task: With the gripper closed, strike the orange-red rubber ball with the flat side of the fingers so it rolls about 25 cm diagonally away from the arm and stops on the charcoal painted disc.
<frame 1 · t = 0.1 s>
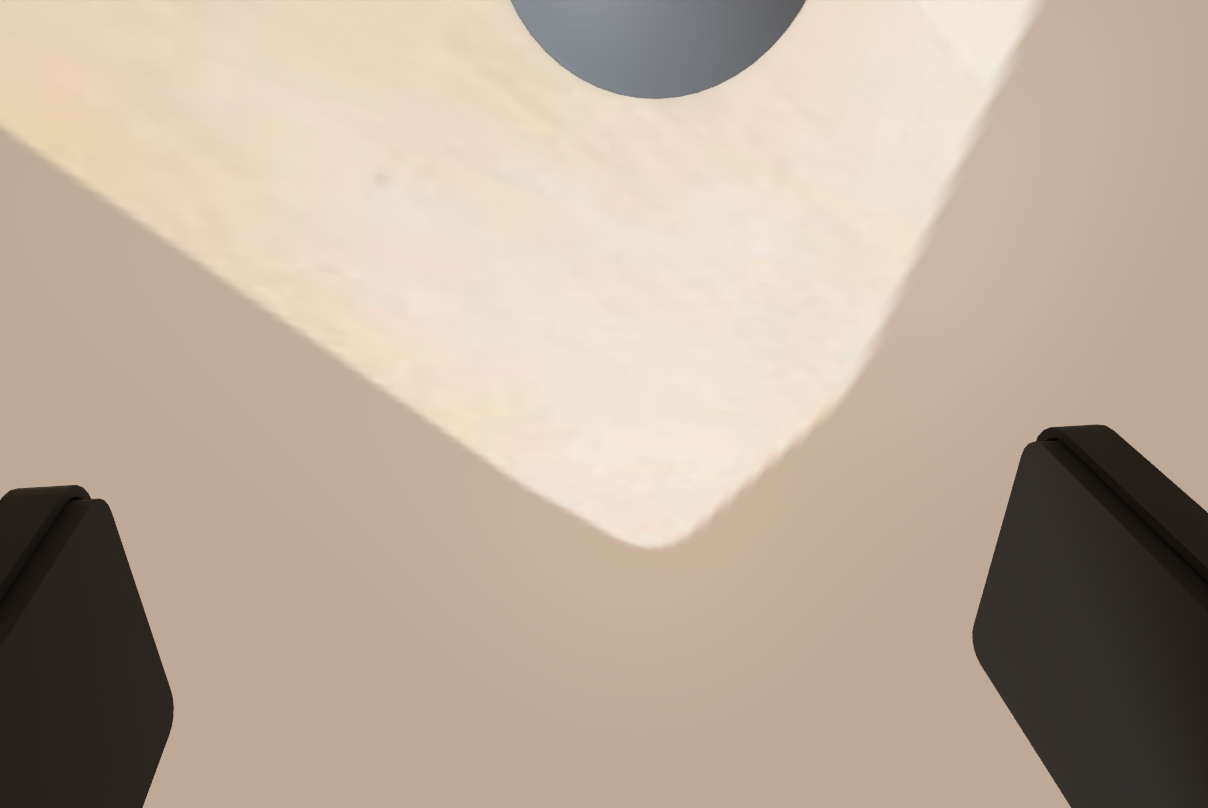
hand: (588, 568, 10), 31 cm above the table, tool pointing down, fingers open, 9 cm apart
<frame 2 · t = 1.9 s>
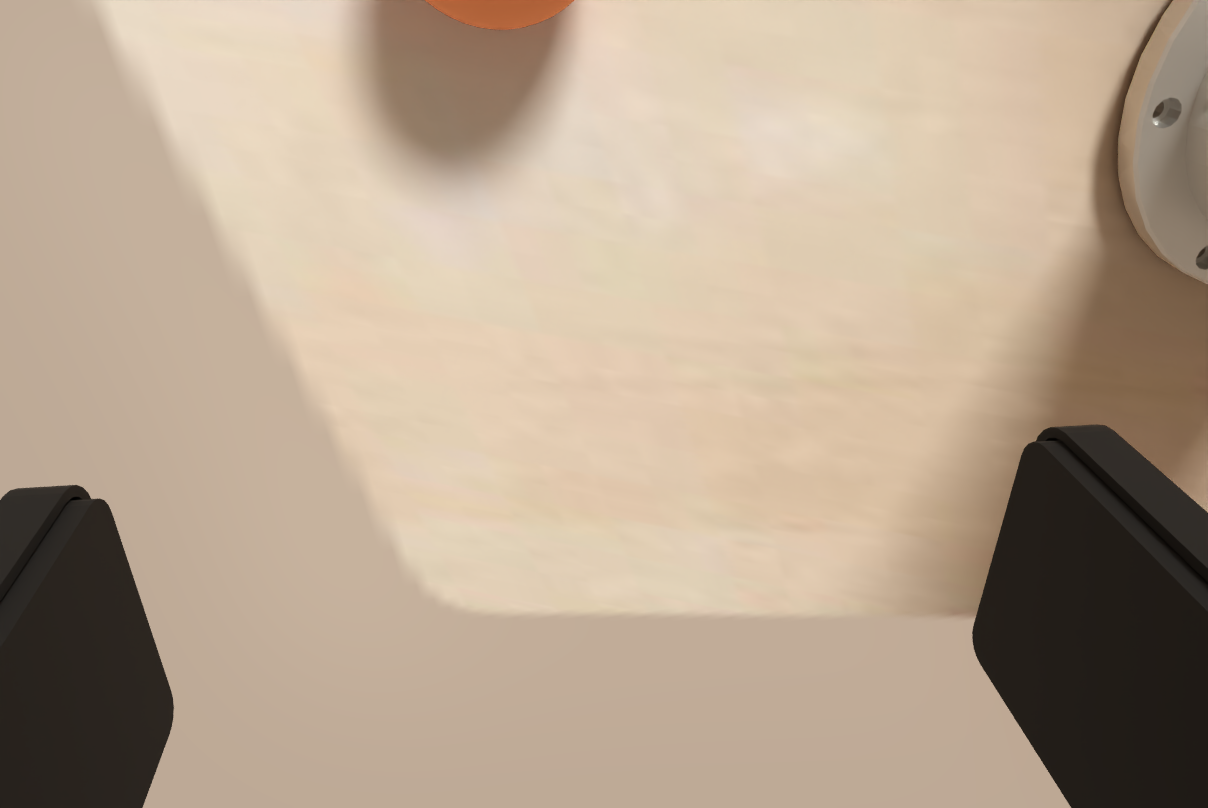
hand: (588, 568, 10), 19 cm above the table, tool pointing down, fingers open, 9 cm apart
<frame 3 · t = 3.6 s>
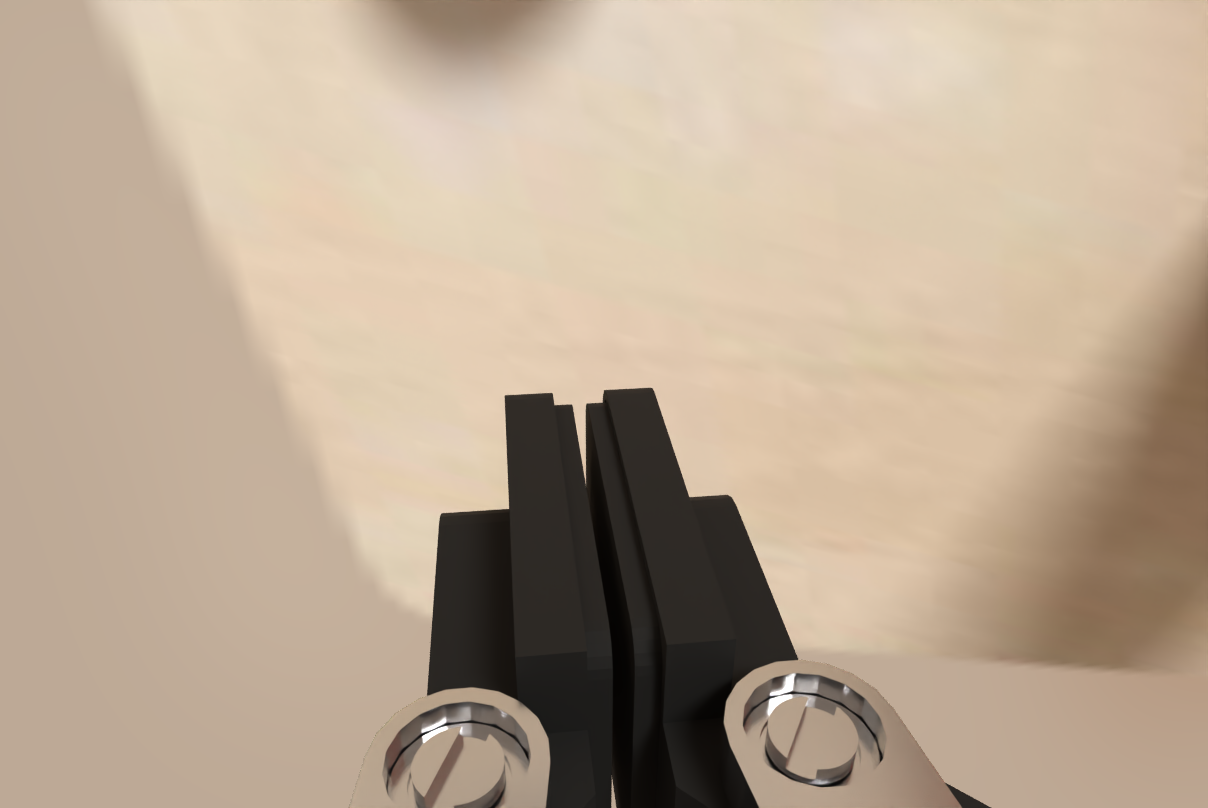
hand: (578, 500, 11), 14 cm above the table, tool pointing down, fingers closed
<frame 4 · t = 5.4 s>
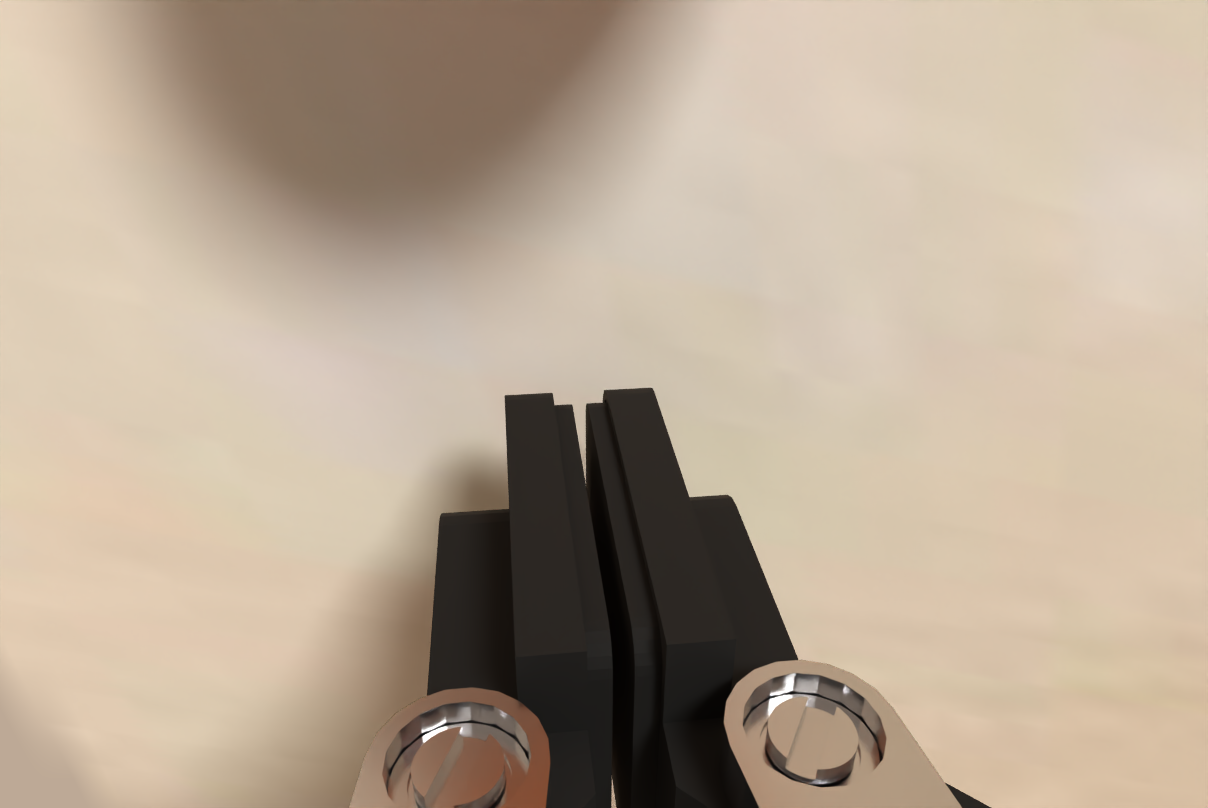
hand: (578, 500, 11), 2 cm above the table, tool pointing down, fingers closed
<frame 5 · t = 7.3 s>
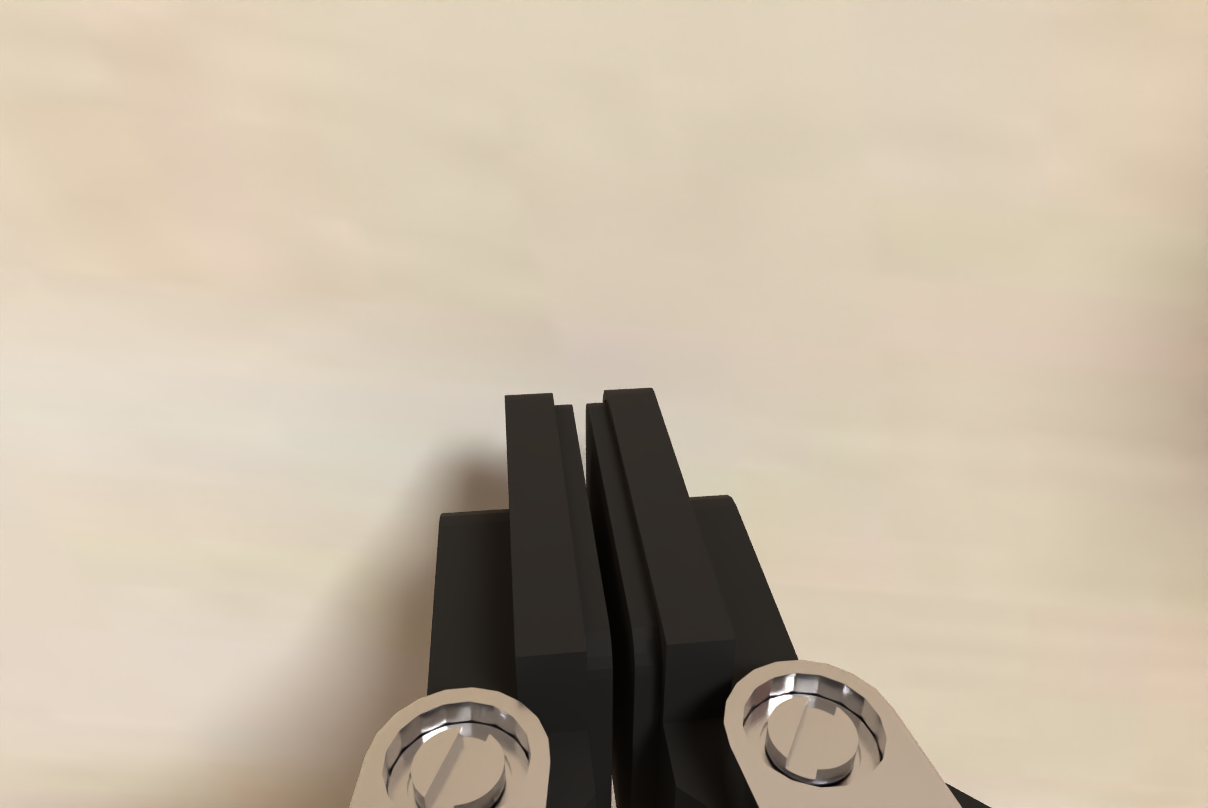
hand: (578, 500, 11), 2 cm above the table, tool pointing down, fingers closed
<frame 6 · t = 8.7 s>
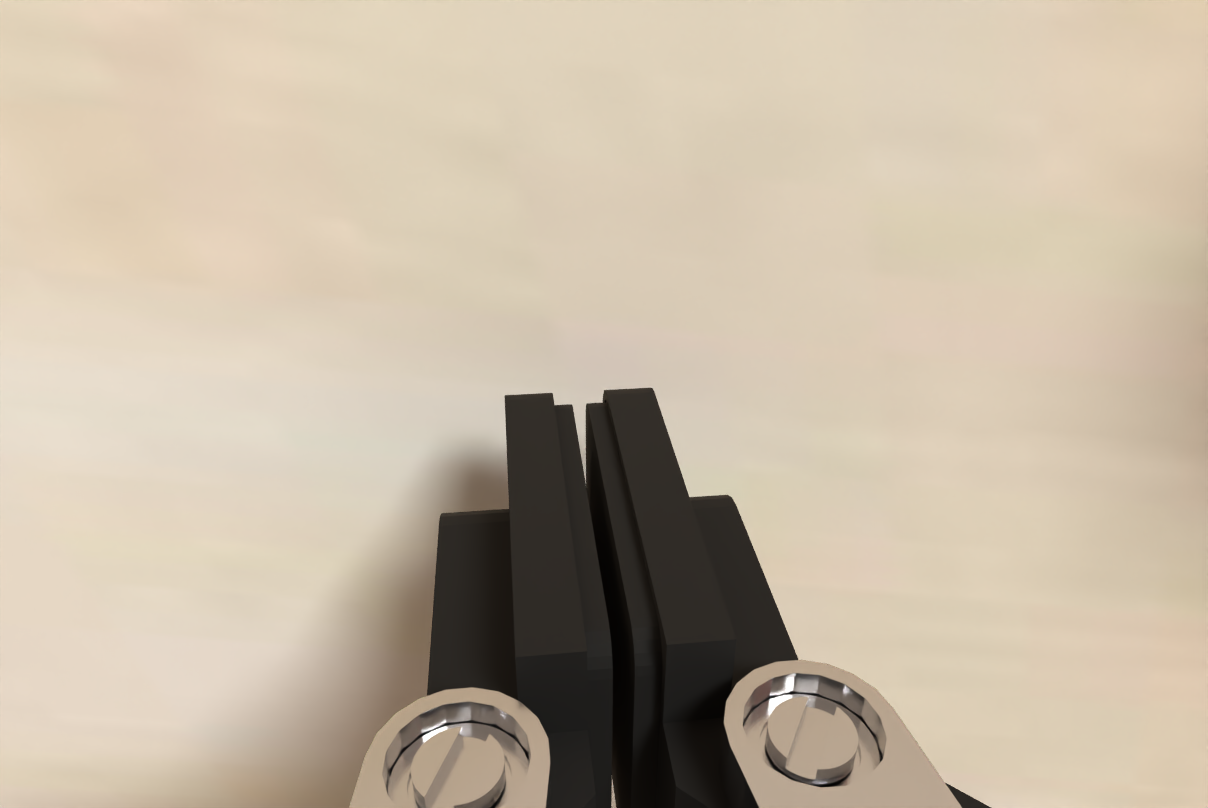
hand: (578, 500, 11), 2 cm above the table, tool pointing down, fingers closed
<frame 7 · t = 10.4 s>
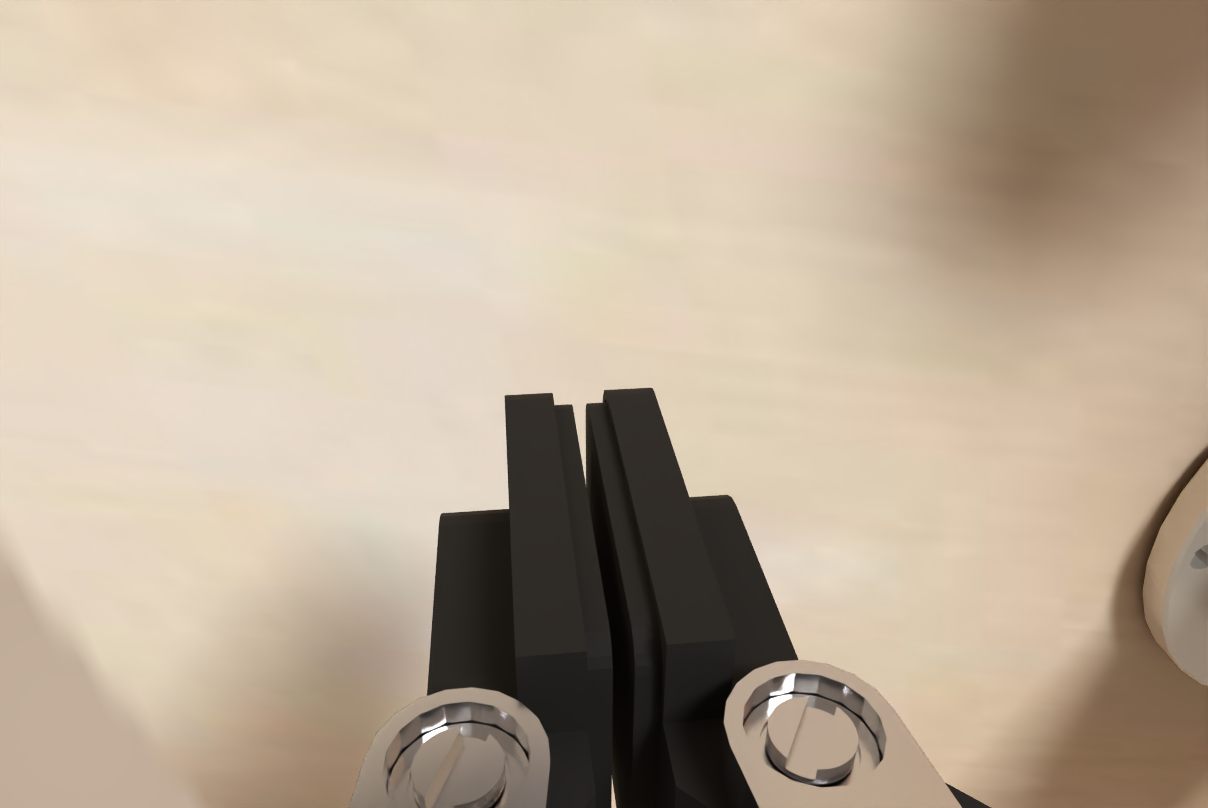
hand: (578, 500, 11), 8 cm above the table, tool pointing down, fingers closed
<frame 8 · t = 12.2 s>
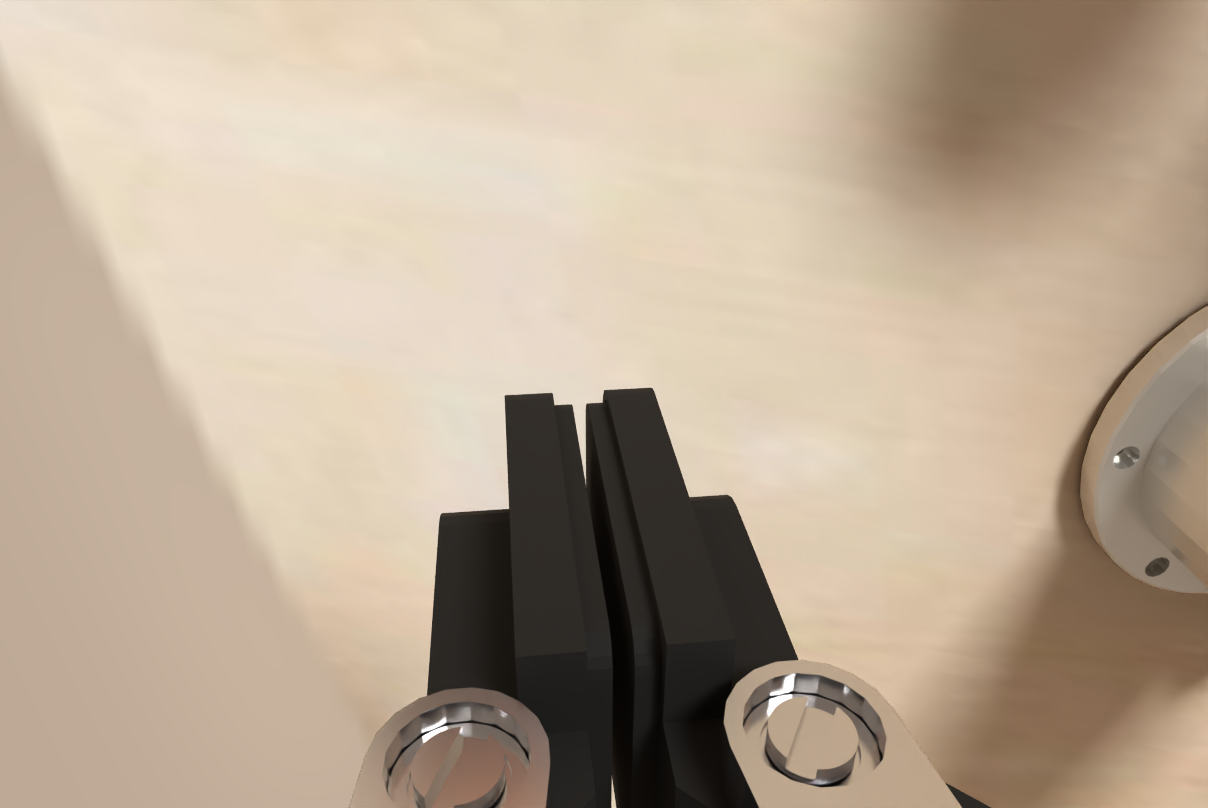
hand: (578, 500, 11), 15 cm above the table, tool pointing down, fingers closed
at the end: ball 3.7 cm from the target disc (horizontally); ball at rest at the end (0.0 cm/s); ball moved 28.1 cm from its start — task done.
